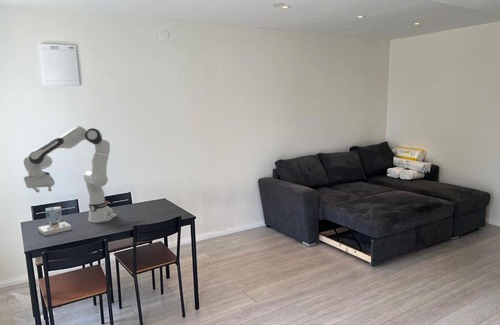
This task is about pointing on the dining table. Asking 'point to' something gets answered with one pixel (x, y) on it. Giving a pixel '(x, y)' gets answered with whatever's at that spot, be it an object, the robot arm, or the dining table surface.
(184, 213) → the dining table surface
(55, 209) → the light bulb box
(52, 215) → the breaker lever
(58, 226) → the switch panel
